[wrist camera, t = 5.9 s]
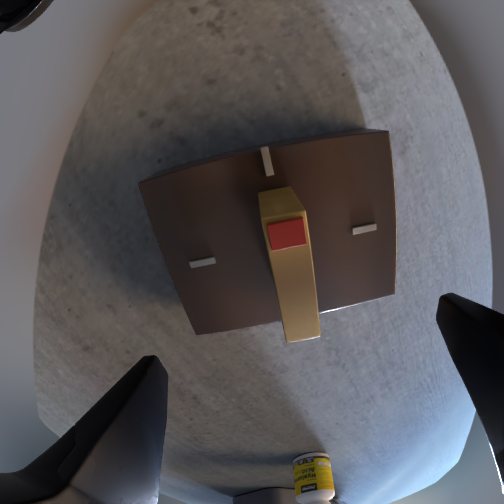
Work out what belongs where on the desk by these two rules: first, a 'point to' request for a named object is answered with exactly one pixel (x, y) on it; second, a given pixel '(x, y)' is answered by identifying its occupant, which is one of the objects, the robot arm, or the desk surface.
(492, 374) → the robot arm
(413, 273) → the desk surface
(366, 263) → the block
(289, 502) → the streaming box
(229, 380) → the desk surface
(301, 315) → the red-tabbed yellow block
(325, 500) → the supplement bottle
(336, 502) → the vase
